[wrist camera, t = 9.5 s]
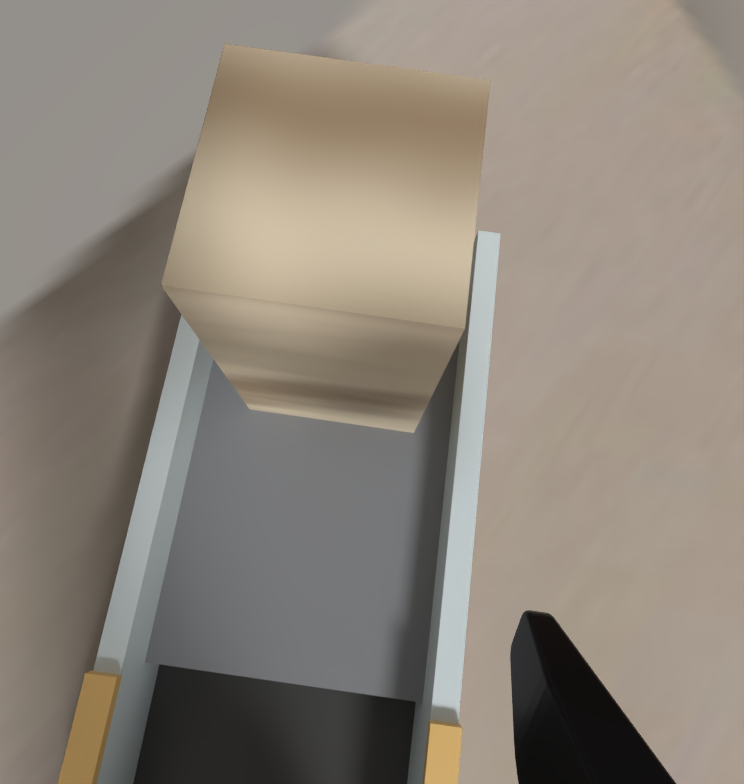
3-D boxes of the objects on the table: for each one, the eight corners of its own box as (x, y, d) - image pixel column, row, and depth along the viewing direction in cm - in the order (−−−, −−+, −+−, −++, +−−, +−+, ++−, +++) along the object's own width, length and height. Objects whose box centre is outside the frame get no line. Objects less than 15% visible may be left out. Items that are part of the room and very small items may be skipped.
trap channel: (413, 969, 18) (431, 1095, 14) (78, 919, 18) (-5, 1029, 14) (478, 283, 25) (504, 227, 21) (232, 249, 25) (207, 186, 21)
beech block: (413, 432, 21) (465, 328, 11) (249, 409, 21) (160, 285, 11) (432, 283, 22) (490, 80, 13) (279, 261, 23) (224, 44, 13)
